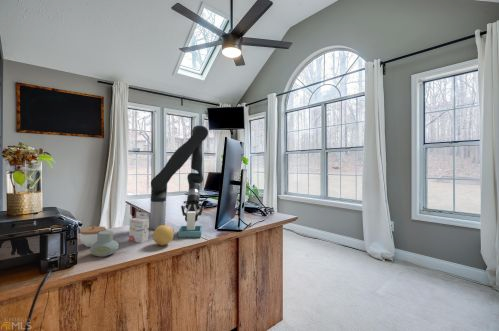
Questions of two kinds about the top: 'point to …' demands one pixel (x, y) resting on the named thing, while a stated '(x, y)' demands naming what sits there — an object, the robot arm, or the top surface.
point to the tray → (189, 232)
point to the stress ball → (163, 235)
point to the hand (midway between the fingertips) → (191, 220)
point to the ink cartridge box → (139, 228)
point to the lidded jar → (90, 235)
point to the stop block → (191, 220)
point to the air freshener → (104, 244)
